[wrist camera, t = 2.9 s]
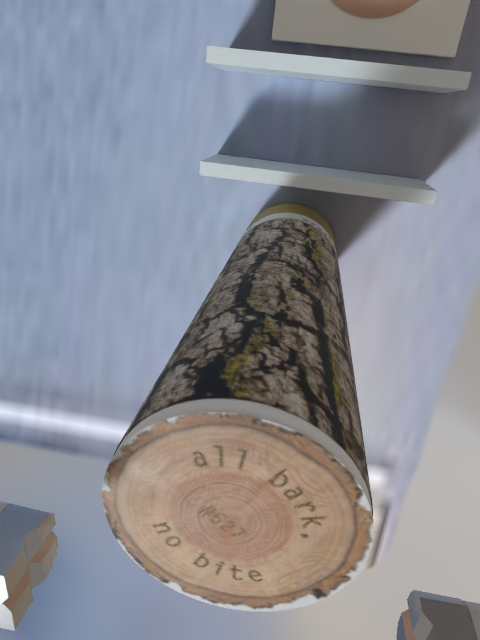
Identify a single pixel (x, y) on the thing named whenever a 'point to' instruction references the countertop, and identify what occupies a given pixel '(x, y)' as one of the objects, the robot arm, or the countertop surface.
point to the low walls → (332, 72)
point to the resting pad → (374, 24)
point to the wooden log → (253, 435)
